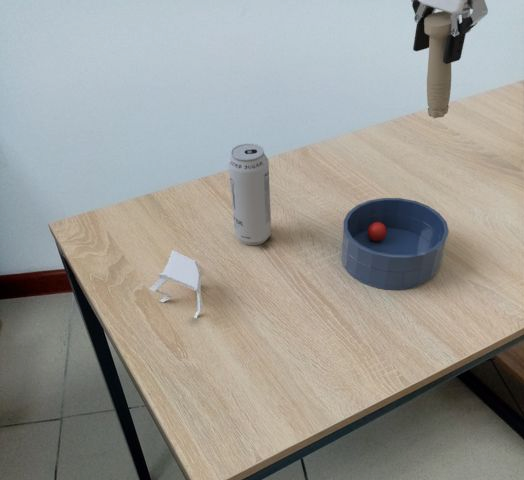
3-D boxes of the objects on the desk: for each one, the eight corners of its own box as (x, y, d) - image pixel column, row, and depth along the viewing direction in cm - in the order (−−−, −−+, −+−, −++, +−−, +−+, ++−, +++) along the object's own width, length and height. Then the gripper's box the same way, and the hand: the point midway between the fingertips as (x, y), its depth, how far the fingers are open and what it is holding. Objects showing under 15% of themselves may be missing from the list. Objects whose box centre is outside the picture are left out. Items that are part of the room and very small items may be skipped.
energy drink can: (234, 227, 91) (226, 143, 80) (269, 224, 91) (265, 140, 80) (236, 249, 87) (228, 163, 75) (273, 245, 87) (270, 159, 76)
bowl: (396, 219, 90) (401, 187, 86) (461, 266, 81) (470, 233, 76) (322, 250, 85) (323, 218, 81) (382, 303, 76) (387, 270, 72)
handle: (424, 125, 91) (425, 28, 80) (422, 108, 95) (423, 14, 84) (454, 121, 89) (459, 22, 79) (451, 104, 94) (455, 8, 83)
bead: (392, 225, 83) (377, 216, 84) (382, 231, 82) (366, 222, 83) (387, 240, 85) (372, 232, 87) (376, 247, 84) (361, 238, 85)
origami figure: (141, 292, 80) (134, 266, 77) (186, 268, 84) (181, 242, 80) (187, 333, 74) (182, 307, 70) (234, 305, 77) (231, 279, 74)
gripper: (532, -84, 68) (494, 66, 81) (437, -99, 78) (417, 36, 92) (490, -75, 66) (457, 77, 79) (398, -92, 76) (383, 45, 89)
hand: (436, 54), depth 85 cm, fingers closed on handle, 6 cm apart
